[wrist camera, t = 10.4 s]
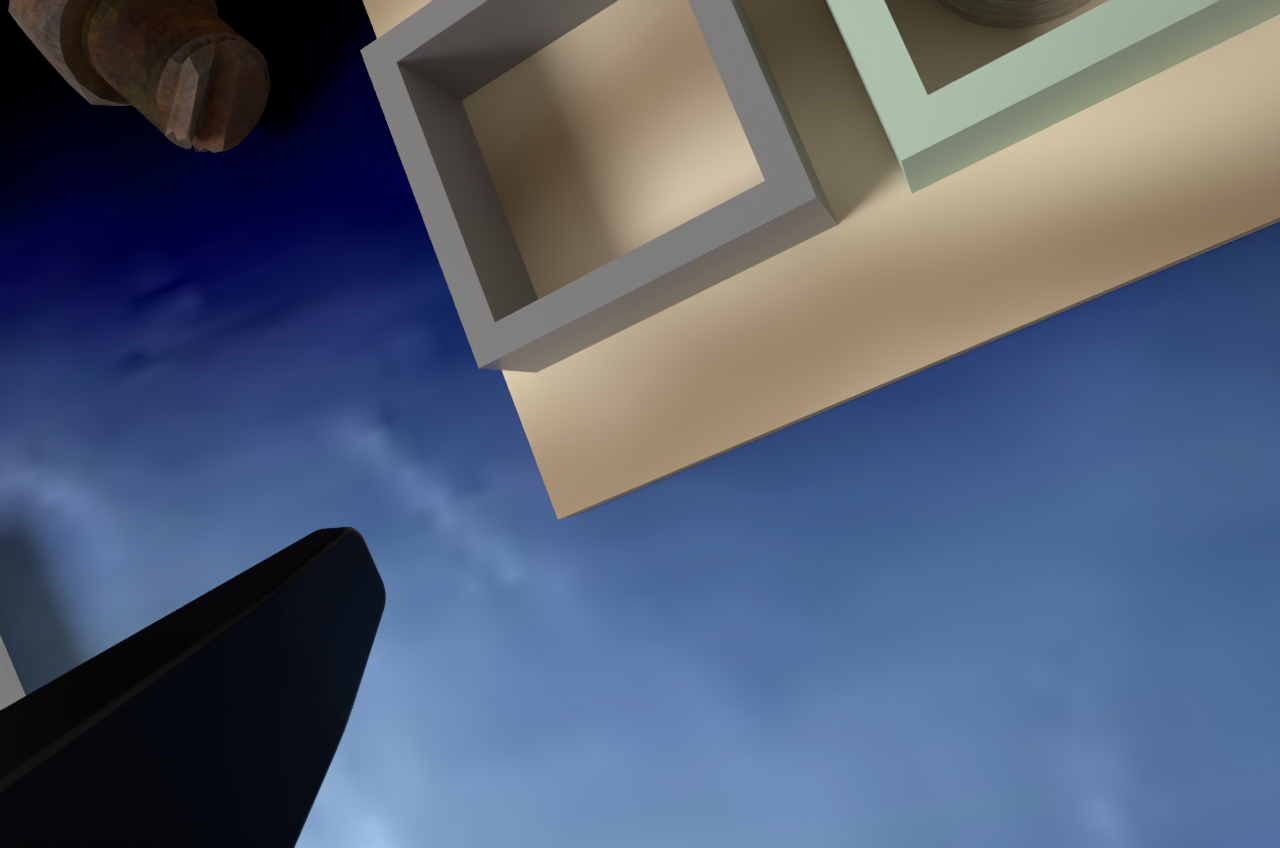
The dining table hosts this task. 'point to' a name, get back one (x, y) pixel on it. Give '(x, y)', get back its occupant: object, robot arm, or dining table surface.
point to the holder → (476, 222)
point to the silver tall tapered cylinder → (1011, 11)
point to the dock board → (862, 205)
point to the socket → (1025, 74)
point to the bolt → (155, 63)
